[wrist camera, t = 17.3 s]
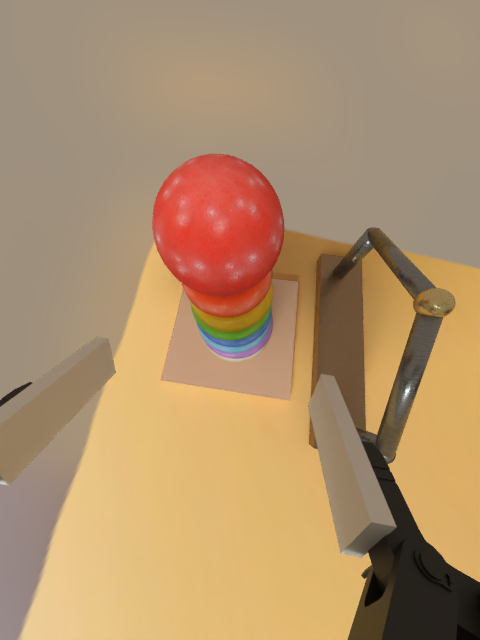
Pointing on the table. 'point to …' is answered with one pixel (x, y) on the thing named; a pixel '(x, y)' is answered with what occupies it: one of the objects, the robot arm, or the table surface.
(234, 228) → the stacking toy
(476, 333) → the table surface
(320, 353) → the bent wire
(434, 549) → the robot arm
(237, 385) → the terracotta pad
